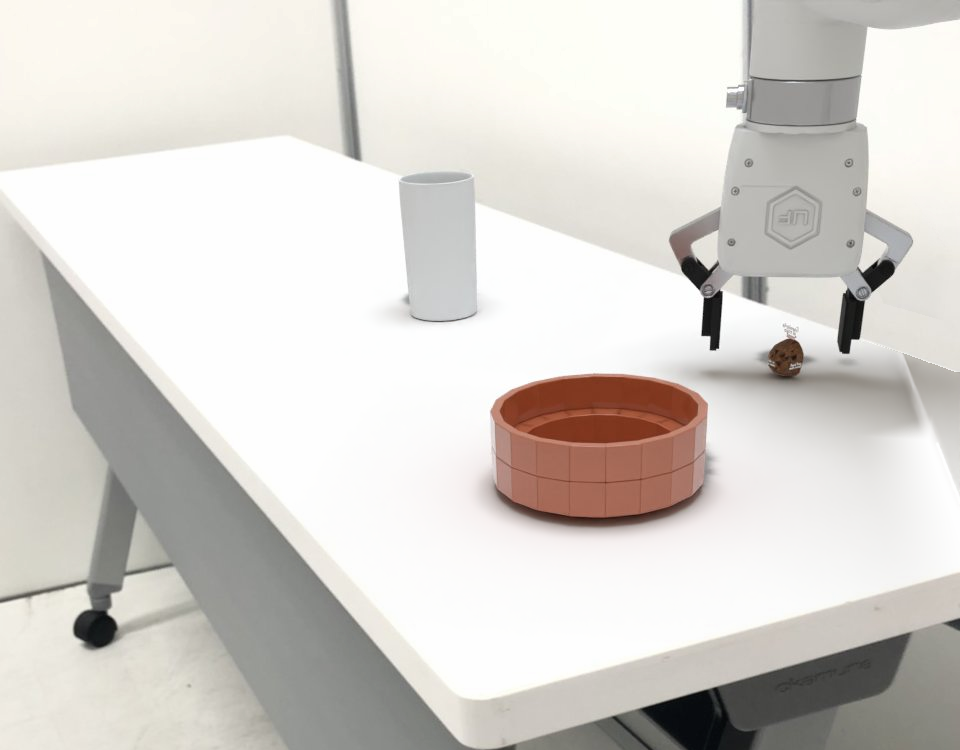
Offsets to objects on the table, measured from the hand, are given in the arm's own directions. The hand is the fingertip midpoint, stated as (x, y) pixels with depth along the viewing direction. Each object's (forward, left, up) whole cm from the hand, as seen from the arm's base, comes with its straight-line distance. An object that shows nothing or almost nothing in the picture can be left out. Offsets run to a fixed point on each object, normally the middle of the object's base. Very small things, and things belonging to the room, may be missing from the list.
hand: (778, 347), depth 93 cm
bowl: (+12, +22, -2) cm, 25 cm away
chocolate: (0, 0, -2) cm, 2 cm away
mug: (+30, -19, -2) cm, 35 cm away
